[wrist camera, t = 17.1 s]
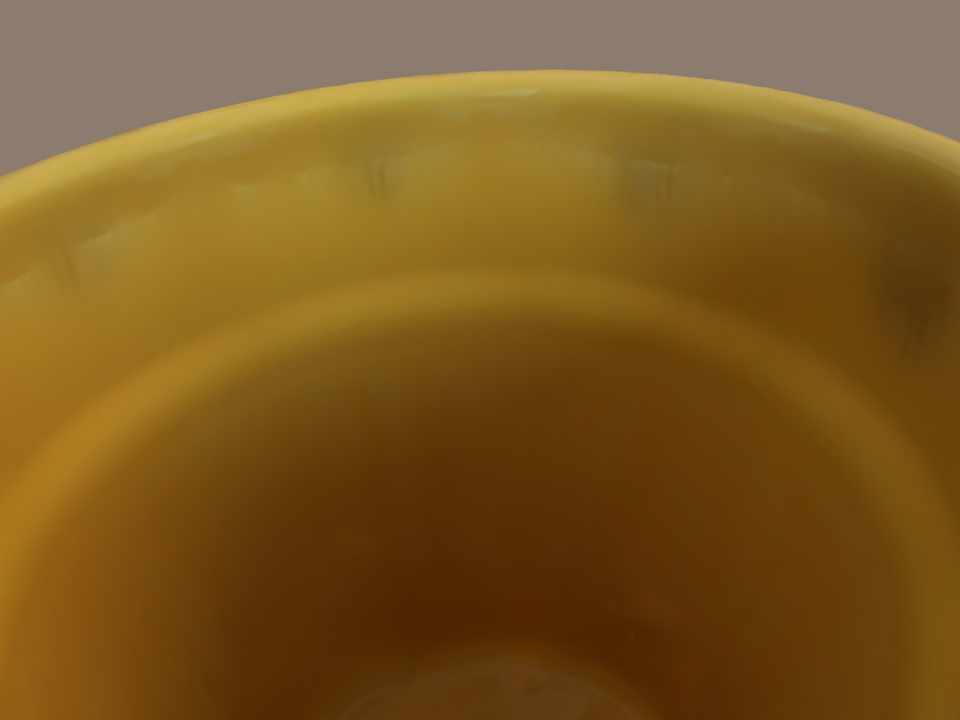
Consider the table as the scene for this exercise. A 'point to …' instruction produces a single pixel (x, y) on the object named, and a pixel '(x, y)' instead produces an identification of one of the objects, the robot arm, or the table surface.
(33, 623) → the flower pot
